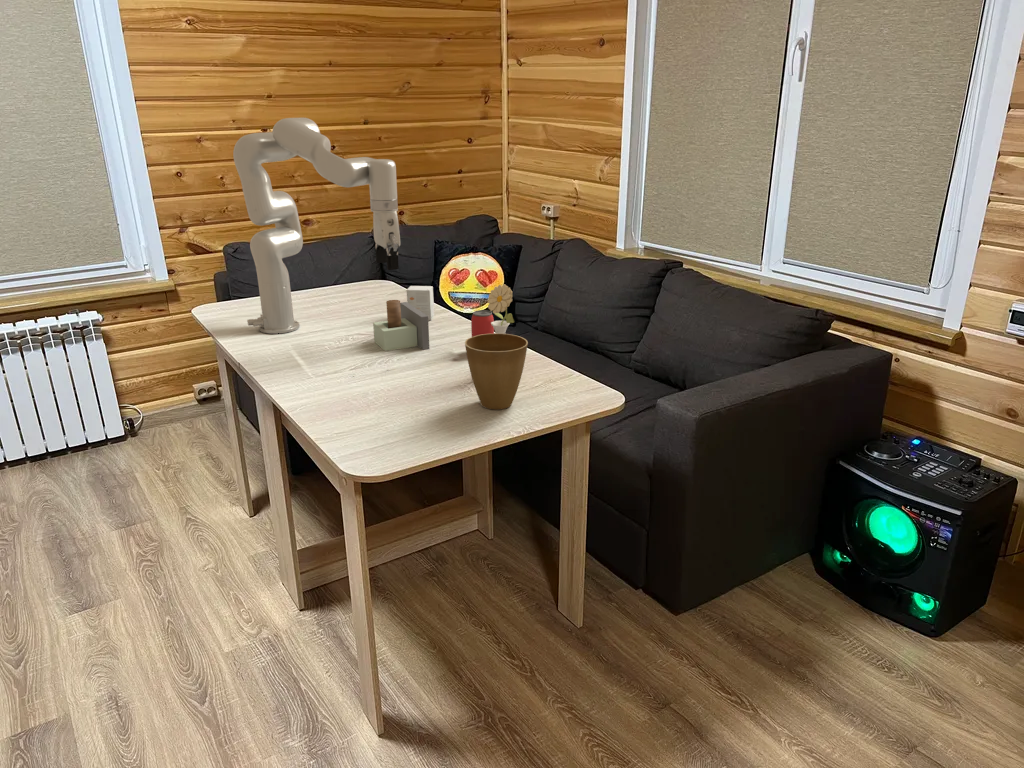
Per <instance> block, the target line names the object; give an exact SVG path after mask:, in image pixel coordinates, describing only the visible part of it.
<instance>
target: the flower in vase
mask: <svg viewBox="0 0 1024 768" xmlns="http://www.w3.org/2000/svg"><path fill="white" fill-rule="evenodd" d="M487 299H488V300H487V308H488V310H489V311H491V312H492V314H494V316H496V317H498V318H500V319H501V320H494V321H493V322H491V325H492V326H493V328H494V333H499V334H506V331H507V329H508V327H509V325H510V324H513V323H515V319H514V317H513V314H512V313H508V307H510V304H511V303H512V302H513V291H512V289H511V287H509V286H508V285H506V284H502V285H501V284H498V285H497V286H494V289H492V290H490V293H489V294H488V298H487ZM504 312H505V314H504V317H503V315H502V314H501V313H504Z"/></svg>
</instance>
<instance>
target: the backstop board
mask: <svg viewBox="0 0 1024 768" xmlns="http://www.w3.org/2000/svg"><path fill="white" fill-rule="evenodd" d="M400 307H401V319H403V318H405V319H407V320H408V321H409V322H411V323H412V324H414V325H415V326H416V327H417V344H418V346H417V347H419V348H420V349H421V350H423V351H424V350H425V351H427V350H430V327H429V326H430V325H429V320H428V316H427V315H425V314H424V313H422V312H421V311H419V310H418V309H416V308H415V307H413V306H412V305H410V304H409V303H407V301H402V302H400Z"/></svg>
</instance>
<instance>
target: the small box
mask: <svg viewBox="0 0 1024 768" xmlns="http://www.w3.org/2000/svg"><path fill="white" fill-rule="evenodd" d="M406 302H407V303H409V304H410V305H412V306H413V307H415V308H416V309H418V310H419V311H421V312H422V313H424V314H425V315H427V316H428V321H432V320H433V318H434V317H435V301H434V287H433V286H431V285H410V286H409V287H408V288H407V289H406Z"/></svg>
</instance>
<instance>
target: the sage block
mask: <svg viewBox="0 0 1024 768" xmlns="http://www.w3.org/2000/svg"><path fill="white" fill-rule="evenodd" d="M401 325H402V327H396V328H389V329H388V320H384V321H383V320H381V321H375V322H374V321H373V323H372V326H373V328H372V329H373V339H374V343H375V344H376V345H377V346H378V347H380V348H381V349H382V350H383V351H385V352H387V351H388V352H389V351H395V350H403V349H408V348H409V349H410V348H414V347H419V346H418V344H417V327H416V326H415V325H414V324H412V323H411V322H409V321H408V320H407V319H405V318H403V319H401Z"/></svg>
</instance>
